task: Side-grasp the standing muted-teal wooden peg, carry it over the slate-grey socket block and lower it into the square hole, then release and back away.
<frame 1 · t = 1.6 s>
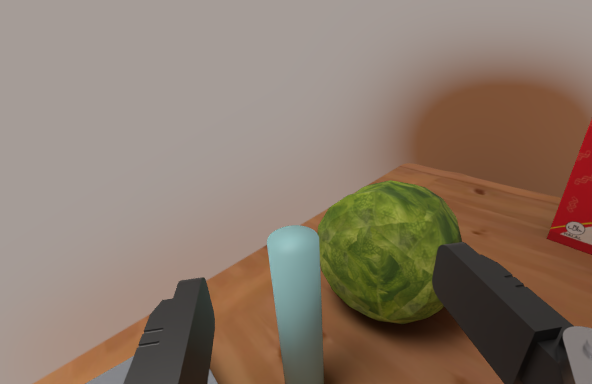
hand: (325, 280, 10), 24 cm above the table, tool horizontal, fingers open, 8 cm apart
lettuce: (395, 278, 43), on the table
peg: (304, 383, 30), on the table
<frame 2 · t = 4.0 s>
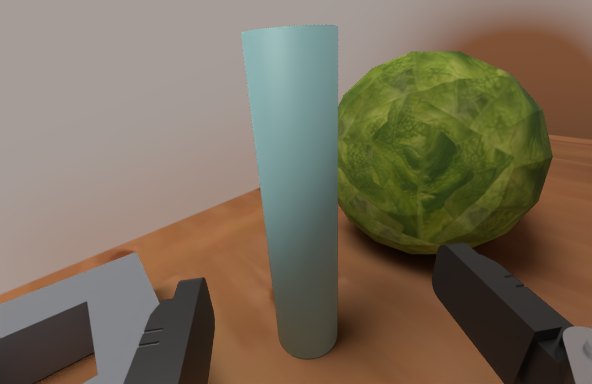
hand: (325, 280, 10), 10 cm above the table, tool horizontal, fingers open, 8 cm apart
lettuce: (427, 215, 33), on the table
peg: (307, 331, 20), on the table
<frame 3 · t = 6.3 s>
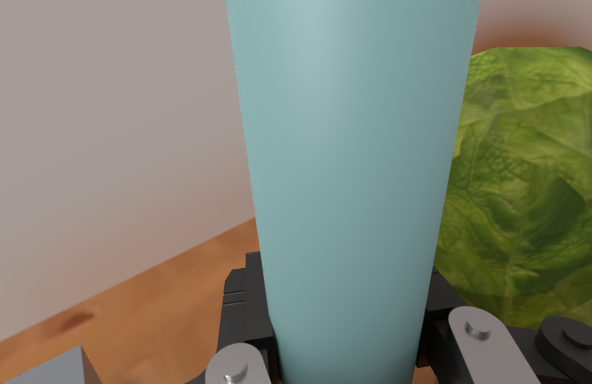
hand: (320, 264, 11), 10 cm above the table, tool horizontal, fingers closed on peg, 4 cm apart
lettuce: (476, 260, 26), on the table
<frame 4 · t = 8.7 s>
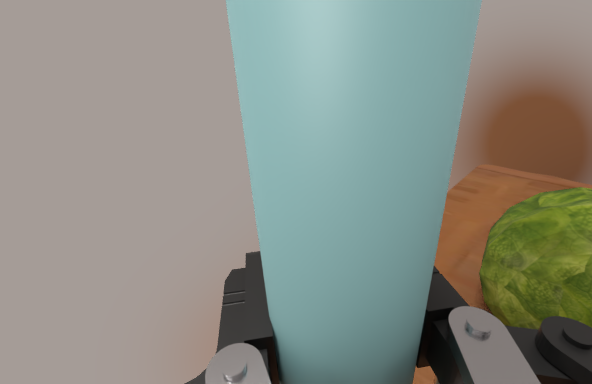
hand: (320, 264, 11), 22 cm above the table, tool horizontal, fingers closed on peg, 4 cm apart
lettuce: (553, 308, 35), on the table
when the fingers open (12 cm above the table, at t = 11.4 s): peg drops 2 cm, on the table.
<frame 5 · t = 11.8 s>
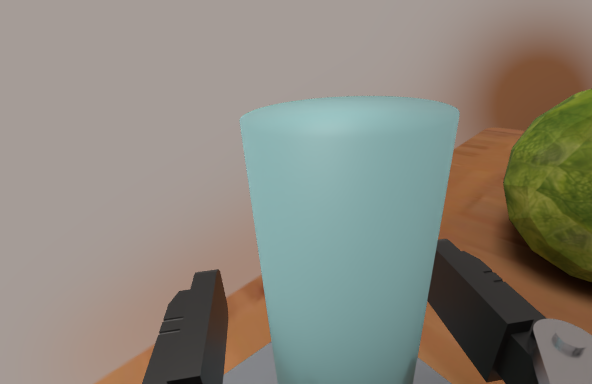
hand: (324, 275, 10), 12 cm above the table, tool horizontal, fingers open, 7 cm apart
lettuce: (583, 240, 30), on the table
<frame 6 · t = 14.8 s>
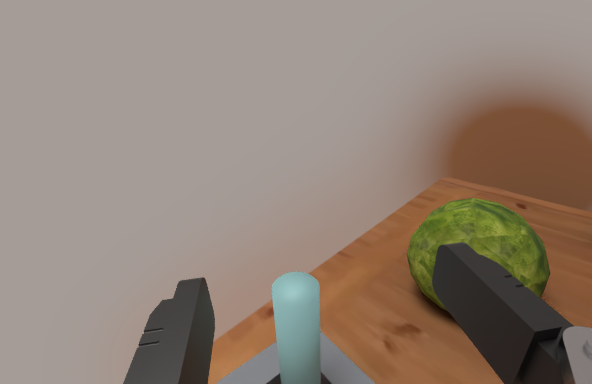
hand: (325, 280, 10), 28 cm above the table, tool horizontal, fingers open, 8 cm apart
lettuce: (466, 283, 49), on the table
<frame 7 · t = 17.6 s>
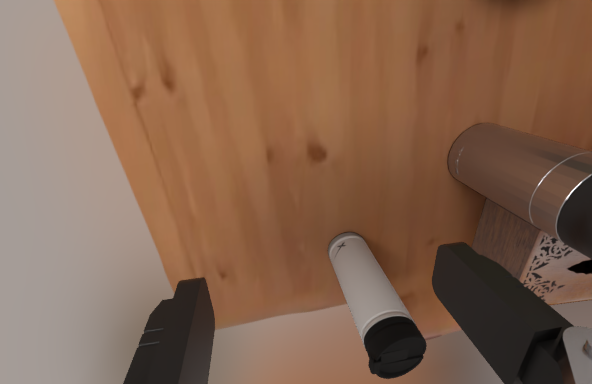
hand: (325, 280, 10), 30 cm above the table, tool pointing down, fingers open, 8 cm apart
tissue box cover: (538, 228, 52), on the table
travel mug: (344, 247, 48), on the table
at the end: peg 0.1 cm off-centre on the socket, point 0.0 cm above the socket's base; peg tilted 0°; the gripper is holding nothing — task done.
